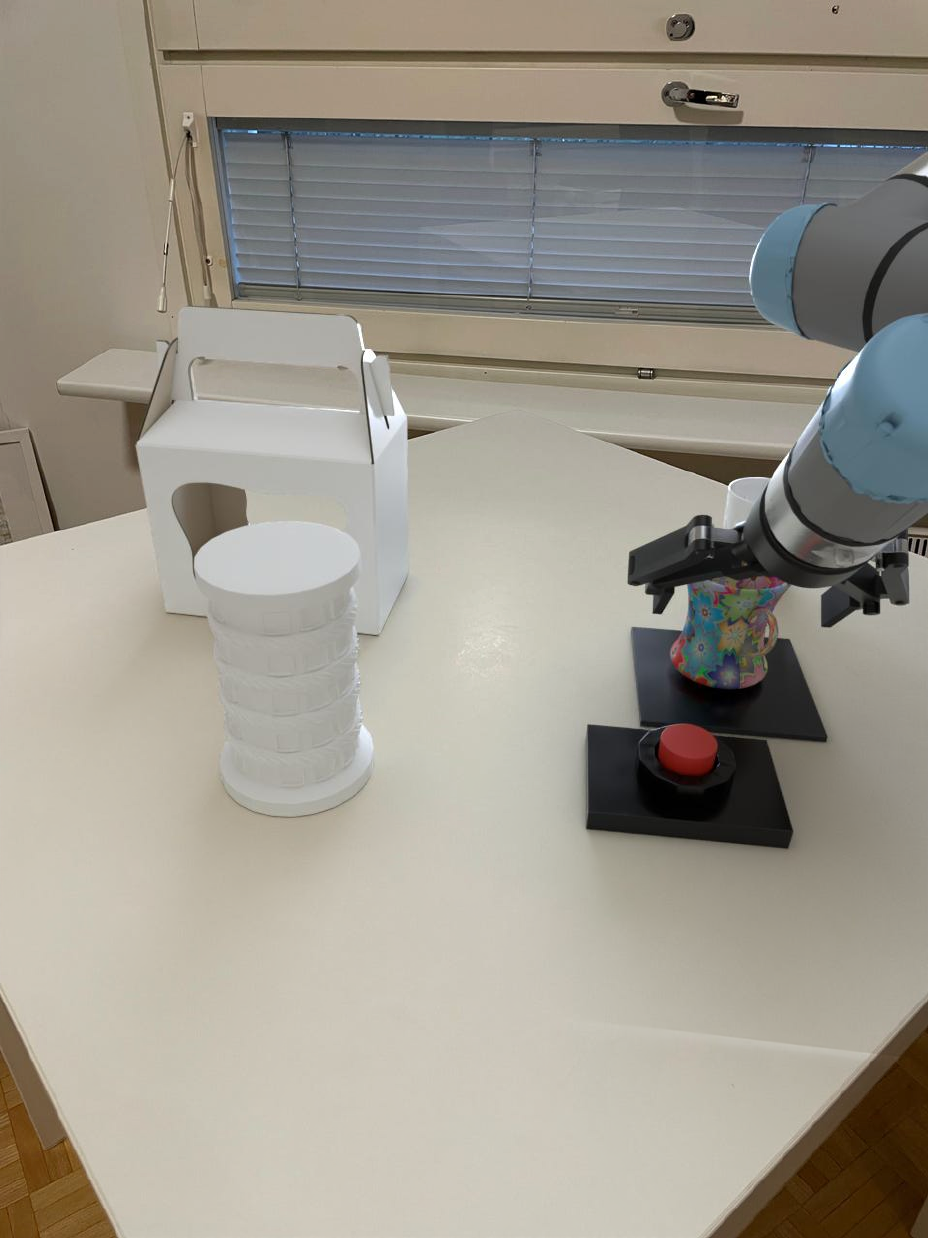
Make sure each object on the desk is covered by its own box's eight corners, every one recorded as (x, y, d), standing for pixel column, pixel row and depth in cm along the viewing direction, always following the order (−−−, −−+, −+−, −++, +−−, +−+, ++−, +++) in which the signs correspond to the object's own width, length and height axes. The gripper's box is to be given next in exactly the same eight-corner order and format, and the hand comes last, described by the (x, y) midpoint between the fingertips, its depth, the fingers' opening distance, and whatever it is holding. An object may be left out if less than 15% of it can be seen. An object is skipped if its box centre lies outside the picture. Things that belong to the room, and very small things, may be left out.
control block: (762, 756, 69) (771, 721, 67) (788, 849, 61) (799, 812, 59) (585, 740, 70) (589, 705, 68) (586, 829, 62) (590, 792, 60)
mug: (648, 645, 82) (664, 543, 76) (740, 636, 83) (762, 536, 78) (702, 723, 71) (725, 612, 66) (805, 712, 73) (836, 603, 68)
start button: (709, 744, 65) (713, 726, 64) (717, 780, 62) (721, 761, 61) (655, 739, 66) (659, 721, 65) (660, 775, 62) (663, 756, 61)
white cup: (761, 601, 90) (781, 513, 85) (698, 574, 95) (713, 488, 90) (801, 579, 95) (822, 493, 90) (739, 553, 100) (756, 471, 95)
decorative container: (400, 741, 70) (396, 537, 60) (322, 837, 60) (304, 614, 51) (278, 703, 74) (257, 507, 64) (188, 788, 64) (148, 573, 55)
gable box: (411, 572, 94) (408, 302, 80) (382, 637, 83) (372, 336, 68) (216, 553, 97) (179, 289, 82) (162, 613, 86) (108, 319, 71)
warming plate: (788, 643, 83) (790, 638, 83) (826, 742, 71) (828, 736, 70) (630, 631, 85) (631, 626, 84) (639, 726, 72) (640, 720, 72)
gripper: (610, 556, 52) (586, 636, 72) (1053, 588, 49) (898, 662, 70) (617, 440, 53) (592, 550, 74) (1045, 466, 51) (896, 572, 72)
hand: (740, 605), depth 72 cm, fingers open, 13 cm apart
